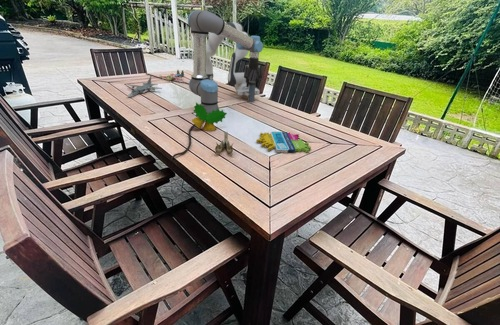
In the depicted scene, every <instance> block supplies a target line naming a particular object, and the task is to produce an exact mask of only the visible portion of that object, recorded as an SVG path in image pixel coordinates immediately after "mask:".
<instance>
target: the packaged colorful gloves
mask: <svg viewBox="0 0 500 325" xmlns="http://www.w3.org/2000/svg"><path fill="white" fill-rule="evenodd" d="M299 136H300V135H299V134H298V133H296V134H294V133H291V132H287V131H270V132H264V133H263V132H260V133H259V139H258V138H257V139H256V143H257V144H261V148H263V147H264V148H265V149H267V151H268V152H271V151H272V150H273V149H275V152H276V153H283V154H285V153H287V154H288V153H290V154H293V153H296V152H298V153H301V152H305V153H310V151H311V150H312V149H311V148H312V146H309V142H304V141H303V139H302V138H299Z"/></svg>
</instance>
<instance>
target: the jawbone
mask: <svg viewBox="0 0 500 325" xmlns="http://www.w3.org/2000/svg"><path fill="white" fill-rule="evenodd" d="M223 135H224V136H223V140H222V139H221V142H220V144H218V142H215V144H216V146H215V148H214V149H215V152H214V154H215V155H217V156H218V155H220V153H221V152H223V151H224V150H226V152H227V153H228V155H229V156H233V155H234V154H233V153H234V148H233V144H234V143H230V140H228V139H229V138H228V137H229V136H228V135H229V133H228V131H226V132H224V134H223Z"/></svg>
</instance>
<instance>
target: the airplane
mask: <svg viewBox="0 0 500 325" xmlns="http://www.w3.org/2000/svg"><path fill="white" fill-rule="evenodd" d="M158 85H159V84H158V83H152V76H151V75H149V78H148V80H147V82H142V85H138V84H137V85H136V84H129V83H128V84H127V86H129V87H131V88H130V90H131V92H130V93H129V94H128V95H127V98H133V97H135V96H137V95H139V94H145V93H147V92H150V91H151V93H152V92H154V91H155V90H156V89H159V90H160V89H162V87H155V86H158Z"/></svg>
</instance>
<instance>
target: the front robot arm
mask: <svg viewBox="0 0 500 325" xmlns="http://www.w3.org/2000/svg"><path fill="white" fill-rule="evenodd" d="M225 22H226V21H225V20H224V19H223V18H221V17H220V16H218V15H217V14H215V13H213V12H211V11H209V10H200V9H196V10H193V11H191V12H190V13H189V15H188V17H187V24H188V26H189V28H190V34H191V35H192V41H193V42H192V45H193V46H192V48H193V50H192V52H193V55H192V57H193V63H192V64H193V73H192V75H191V77H190V79H189V82H188V83H189V84H188V88H189V90H190V92H191V93H193V94H194V95H196V96H197V97H200V104H201V106H204V109H206V112H208V113H211V112H212V110H214V111H216V110H217V109H219V111H221V110H220V108H219V102H218V99H219V98H218V97H219V87H218V82H216V80H214V79H213V80H214V81H213V80H208V76H207V75H206V43H207V37H209V35H210V34H211V33H214V34H216V35H222V36H224V37H225V38H226V39H228V40H229V41H231V42H234V43H235V46H236V45H237V48H238V49H239V50H248V52H249V53H248V54H249V58H248V64H245V65H244V72H243V73H244V78H246V83H247V86H246V87H249V85H250V84H249V81H250V75H251V73H252V71H254V73H255V75H256V78H255V82H256V85H255V88H258V87H259V83H260V79H262V77H263V76H262V64H259V61H260V53H261V52H262V51H263V49H264V44H263V42H262V41H261V37H260V36H259V35H251V36H249V35H248V36H247V35H246V34H244V33H242V32H240V31H239V30H237V29H235V28H233V27H232V26H230V25H228V24H226V23H227V22H226V23H225ZM236 43H237V44H236ZM248 78H249V79H248ZM208 113H207V115H208ZM194 127H196V125H195V124H194V123H193V125H191V126H190V128H189V129H188V145H187V147H186V148H185V150H183V151H181V152H177V153H174V154H173V155H172V156H171V157H170V160H169V161H171V162H172V161H173V160H174V158H175V157H177V156H180V155H184V154H185V153H187V152H188V151H189V150H190V148H191V146H192V137H191V131H192V129H193V128H194Z"/></svg>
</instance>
